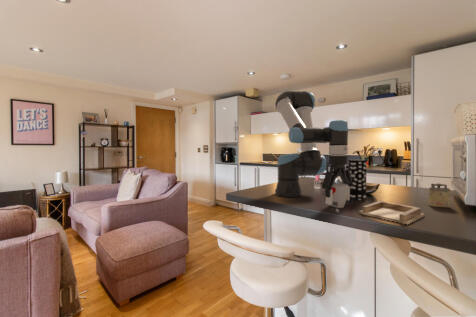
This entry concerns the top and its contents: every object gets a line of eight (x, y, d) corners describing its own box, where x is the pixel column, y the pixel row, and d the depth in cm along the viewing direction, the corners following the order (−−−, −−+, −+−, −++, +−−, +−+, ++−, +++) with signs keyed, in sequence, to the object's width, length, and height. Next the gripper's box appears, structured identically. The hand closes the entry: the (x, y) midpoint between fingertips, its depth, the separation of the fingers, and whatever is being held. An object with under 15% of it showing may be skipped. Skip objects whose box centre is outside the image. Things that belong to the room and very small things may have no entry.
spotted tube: (368, 200, 106) (369, 160, 105) (350, 199, 108) (351, 160, 107) (362, 196, 114) (363, 159, 113) (345, 196, 116) (346, 159, 115)
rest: (359, 213, 85) (359, 206, 85) (378, 206, 94) (378, 200, 94) (407, 225, 72) (407, 216, 72) (424, 216, 81) (424, 208, 81)
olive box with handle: (447, 206, 94) (448, 183, 93) (451, 208, 90) (452, 185, 90) (427, 204, 97) (427, 182, 96) (430, 206, 93) (431, 184, 93)
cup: (325, 203, 100) (325, 183, 100) (342, 203, 100) (342, 182, 100) (332, 208, 92) (332, 186, 92) (351, 208, 92) (351, 185, 92)
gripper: (329, 156, 85) (328, 208, 86) (361, 154, 99) (360, 199, 100) (313, 155, 91) (313, 204, 92) (345, 154, 105) (345, 196, 106)
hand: (337, 202), depth 96 cm, fingers open, 13 cm apart
